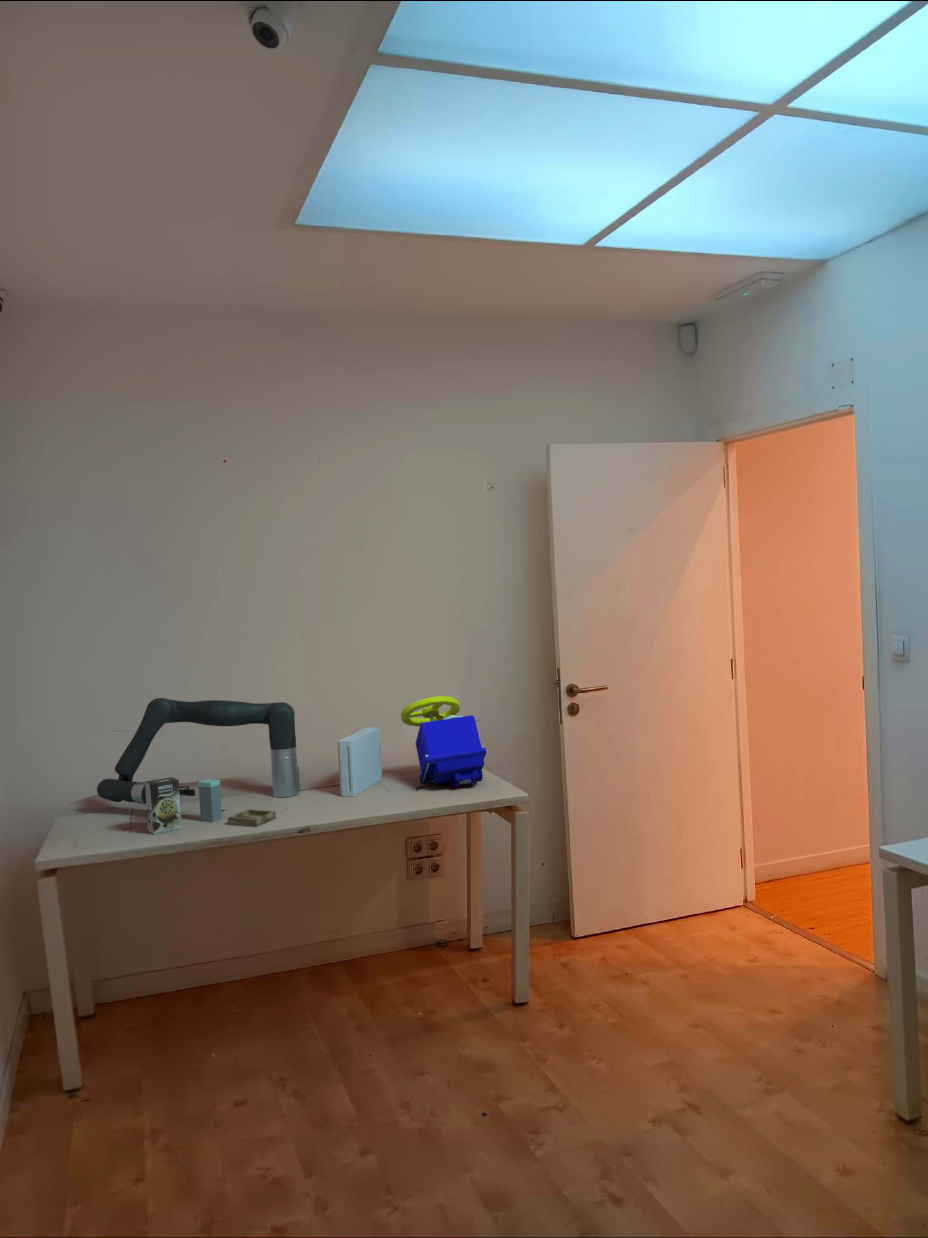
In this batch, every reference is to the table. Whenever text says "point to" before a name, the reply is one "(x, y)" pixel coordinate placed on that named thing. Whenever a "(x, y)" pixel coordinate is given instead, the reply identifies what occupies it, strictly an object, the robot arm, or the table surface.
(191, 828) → the table surface
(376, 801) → the table surface
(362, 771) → the game console
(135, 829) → the table surface
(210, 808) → the teal box
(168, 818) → the coffee box
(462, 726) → the valve actuator
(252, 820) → the tray
